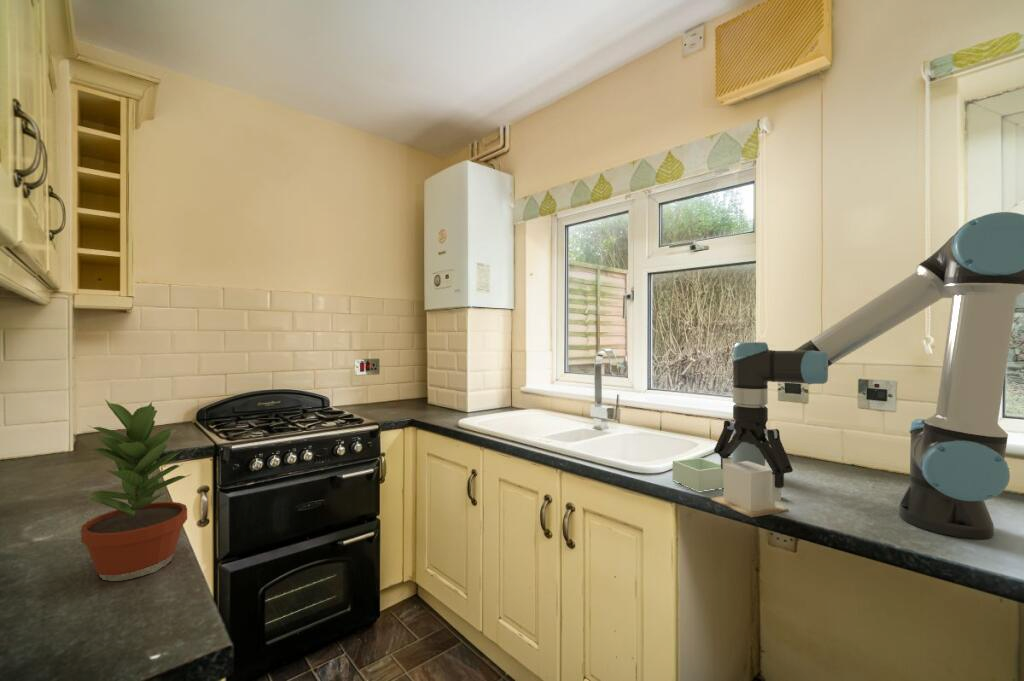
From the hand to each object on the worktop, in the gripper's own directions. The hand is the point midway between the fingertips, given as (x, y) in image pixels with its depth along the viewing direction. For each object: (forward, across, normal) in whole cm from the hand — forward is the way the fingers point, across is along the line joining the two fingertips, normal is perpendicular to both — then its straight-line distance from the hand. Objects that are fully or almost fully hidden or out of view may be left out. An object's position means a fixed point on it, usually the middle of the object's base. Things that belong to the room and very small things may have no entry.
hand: (750, 491), depth 111 cm
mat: (+3, 0, 0) cm, 3 cm away
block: (+3, 0, 0) cm, 3 cm away
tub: (+3, +16, 0) cm, 17 cm away
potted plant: (+2, +18, +127) cm, 129 cm away
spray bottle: (+3, +19, -22) cm, 29 cm away
